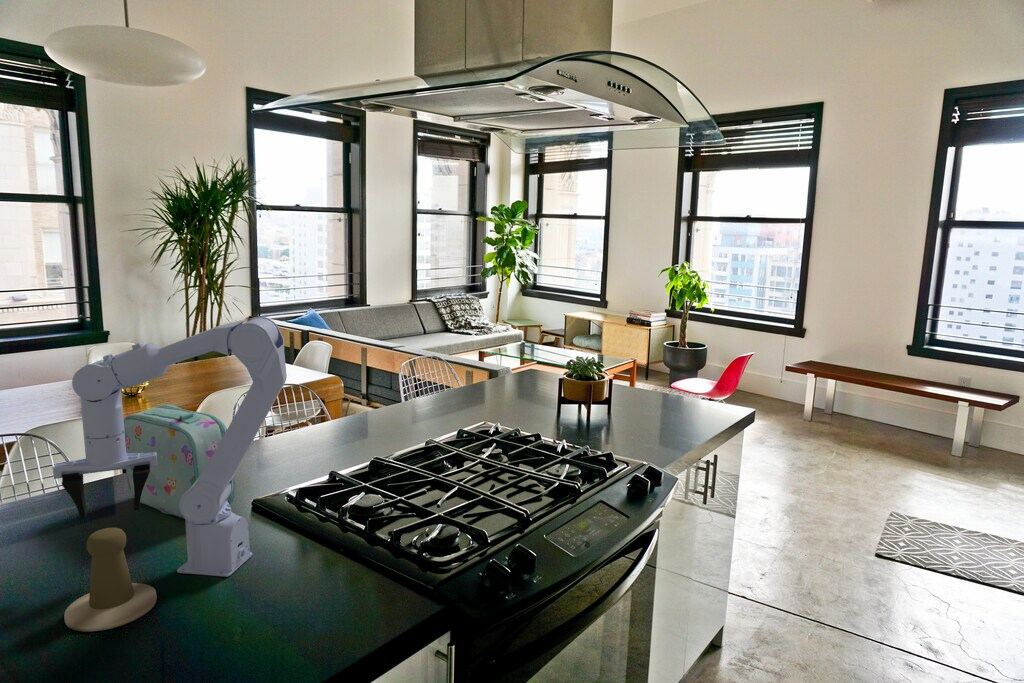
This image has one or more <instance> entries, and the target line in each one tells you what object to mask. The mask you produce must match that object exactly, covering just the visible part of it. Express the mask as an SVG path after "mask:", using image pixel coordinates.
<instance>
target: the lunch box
mask: <svg viewBox="0 0 1024 683" xmlns="http://www.w3.org/2000/svg"><path fill="white" fill-rule="evenodd" d="M227 429H228V427H227V426H226V425H225V423H224V422H223V421H222V420H221V419H220V418H219V417H217V416H215V415H212V414H211V413H206V412H200V411H193V410H187V409H184V408H181V407H178V406H176V405H173V404H160V405H158V406H155V407H153V408H150V409H146V410H144V411H139V412H136V413H131V414H128V415H126V416H125V417H124V431H125V444H126V453H152V452H156V453H157V466H154V467H150V473H149V476H148V478H147V480H146V482H145V485H144V488H143V491H142V494H141V498H140V504H144V505H147V506H148V507H151V508H154V509H155V510H158V511H160V512H161V513H162V514H165V515H173V516H176V517H178V518H181V519H184V520H185V518H184V517H183V515H182V514H181V512H180V508H179V503H180V499H181V497H182V495H183V494H184V493H185V492H186V491H188V490H189V489H190V487H191V486H192V485H193V484H194V483H195V482H196V480H197V478H198V477H199V475H200V474H201V473H203V471H204V470H205V468H206V466H207V465H208V463H209V462H210V460H211V458H212V456H213V454H214V452H215V451H216V449H217V447H218V445H219V443H220V442H221V440H222V438H223V436H224V434H225V432H226V431H227ZM125 473H126V481H127V484H128V486H127V487H128V489H129V491H130V494H131V495H132V496H133V498H134V483H133V468H128V469H125ZM235 484H236V483H235V477H234V478H233V490H232V493H231V495H230V496H229V497H228V498H227V502H228V503H229V505H230V506H231V505H232V503H233V501H234V498H235V489H236V488H235V487H236V486H235Z"/></svg>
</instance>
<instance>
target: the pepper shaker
mask: <svg viewBox="0 0 1024 683" xmlns="http://www.w3.org/2000/svg"><path fill="white" fill-rule="evenodd" d="M126 545H127V534H126V532H125V531H124V530H123V529H122V528H119V527H106V528H102V529H99V530H96V531H94V532H93V533H91V534H90V535H89V536H88V537H87V541H86V550H87V552H88V553H89V555H90V556H91V565H90V581H89V593H90V594H89V606H90V607H91V608H94V609H109V608H113V607H117V606H119V605H122V604H124V603H126V602H128V601H129V600H130V599H132V597H133V596H134V589H133V585H132V583H133V581H132V579H131V575H130V571H129V570H130V569H129V566H128V563H127V559H126V555H125V551H124V549H125V547H126Z"/></svg>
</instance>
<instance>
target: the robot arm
mask: <svg viewBox="0 0 1024 683" xmlns="http://www.w3.org/2000/svg"><path fill="white" fill-rule="evenodd" d="M285 342H286V341H285V337H284V336H283V333H282V332H281V329H280V328H279V326H278V325H277V323H276V322H275V321H274V320H272V319H271V318H269V317H267V316H261V315H260V316H255V317H252V318H250V319H248V320H247V321H246V322H245V320H244V319H243V320H238V321H234V322H233V321H232V322H229V323H225V324H222V325H221V324H220V325H217V326H215V327H212V328H210V329H207V330H204V331H202V332H198V333H196V334H193V335H192V336H189V337H186V338H183V339H180V340H178V341H175V342H174V343H173V342H172V343H171V344H167V345H165V346H161V345H157V344H154V343H151V342H150V343H149V342H148V343H146V344H144V342H141V341H140V342H138V343H135V344H133V345H131V348H132V349H129V350H127V351H126V350H125V351H123V352H121V353H118V354H115V355H113V354H112V353H109V354H106V355H104V356H102V359H101V360H96V361H94V362H93V363H88V364H85V365H84V366H83V367H81V368H79V369H78V370H77V371H76V372H74V374H73V376H72V381H71V384H72V388H73V391H74V392H75V394H76V395H77V396H78V397H79V398H80V405H81V406H80V407H81V419H82V421H81V422H82V429H83V430H82V431H83V433H82V434H83V440H84V441H83V442H84V453H85V454H84V455H85V456H84V457H85V458H80V459H77V460H71V461H66V462H60V463H54V465H53V467H52V473H53V474H52V475H53V480H56V479H58V480H59V479H61V486H62V488H63V489H64V490H65V491H66V492H67V493H68V495H69V496H70V498H71V500H72V501H73V503H74V504H75V506H76V507H75V508H77V511H78V514H79V518H80V519H81V520H83V519H86V517H87V514H88V512H87V511H88V510H87V503H86V498H85V487H84V484H85V483H84V475H86V474H87V475H88V474H95V473H102V472H110V471H118V470H126V469H128V468H133V483H134V497H133V499H134V500H133V501H134V502H133V504H134V505H133V508H134V512H135V511H140V507H141V503H140V498H141V494H142V491H143V488H144V485H145V482H146V480H147V478H148V476H149V473H150V467H154V466H157V453H156V452H152V453H126V444H125V431H124V419H125V417H124V408H123V397H122V390H127V389H130V388H132V387H136V386H138V385H141V384H144V383H147V382H149V381H150V382H151V381H152V380H155V379H158V378H161V377H164V376H165V375H166V373H167V372H168V369H169V367H170V365H174V364H176V363H179V362H182V361H183V362H184V361H185V360H188V359H192V358H195V357H198V356H202V355H204V354H207V353H211V352H217V353H220V354H222V355H226V356H229V355H230V354H231V353H233V355H234V357H236V358H237V359H238V361H239V362H240V363H242V364H243V366H244V367H246V369H247V372H248V373H249V376H250V378H251V381H252V383H251V385H250V387H249V388H248V390H247V393H246V395H245V396H244V398H243V400H242V402H241V404H240V405H239V407H238V409H237V411H236V413H235V414H234V416H233V418H232V419H231V422H230V424H229V425H228V427H227V431H226V432H225V434H224V436H223V438H222V440H221V442H220V443H219V445H218V447H217V449H216V451H215V452H214V454H213V456H212V458H211V460H210V462H209V463H208V465H207V466H206V468H205V470H204V471H203V473H201V474H200V475H199V477H198V478H197V480H196V482H195V483H194V484H193V485H192V486H191V487H190V489H189V490H188V491H186V492H185V493H184V494H183V495H182V497H181V499H180V503H179V508H180V512H181V514H182V515H183V517H184V518H185V519H184V520H185V533H186V534H185V535H186V537H185V538H186V549H187V550H186V551H187V561H186V562H185V563H183V564H182V565H181V566H180V567H178V568H177V569H176V572H177V573H179V574H189V575H190V574H191V575H200V576H201V575H203V576H213V577H214V576H216V577H227V578H228V577H230V576H231V575H233V574H234V572H236V571H237V570H238V569H239V568H240V567H241V566H242V565H243V564H245V562H246V561H248V560H249V559H250V558H251V557H252V556H253V552H251V550H250V548H251V547H250V546H251V545H250V532H249V523H248V519H247V518H246V517H244V516H241V515H238V514H236V513H234V512H233V511H232V507H231V505H229V503H228V502H227V498H228V497H229V496H230V495H231V493H232V490H233V478H234V479H235V476H236V474H237V472H238V469H239V466H240V465H241V464H242V461H243V460H244V457H245V456H246V454H247V453H248V450H249V449H250V447H251V446H252V443H253V442H254V440H255V438H256V436H257V434H258V432H259V431H260V428H261V427H262V426H263V423H264V422H265V420H266V418H267V416H268V414H269V412H270V411H271V409H272V408H273V407H272V406H274V403H275V402H276V399H277V398H278V396H279V394H280V392H281V391H282V389H283V387H284V385H285V384H286V382H287V366H286V365H287V364H286V356H285Z"/></svg>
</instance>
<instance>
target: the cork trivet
mask: <svg viewBox="0 0 1024 683" xmlns="http://www.w3.org/2000/svg"><path fill="white" fill-rule="evenodd" d="M132 585H133V589H134V596H133V597H132V599H130V600H129V601H128V602H126V603H124V604H122V605H119V606H117V607H113V608H109V609H94V608H91V607H90V606H89V594H90V592H89V593H86V594H84V595H83V596H80V597H79V598H77V599H75V600H74V601H73V602H72V603H70V605H68V606H67V608H66V609H65V611H64V613H63V615H64V616H63V617H64V623H65V625H66V626H67V627H68V629H71V630H73V631H77V632H99V631H105V630H106V631H107V630H110V629H114V628H117V627H122V626H125V625H127V624H129V623H131V622H134V621H136V620H138V619H139V618H141V617H143V616H144V615H146V614H147V613H149V612H150V611H151V610H152V608H154V607H155V605H156V603H157V599H158V597H157V596H158V595H157V590H156V588H154V587H153V586H151V585H149V584H145V583H139V582H132Z"/></svg>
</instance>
